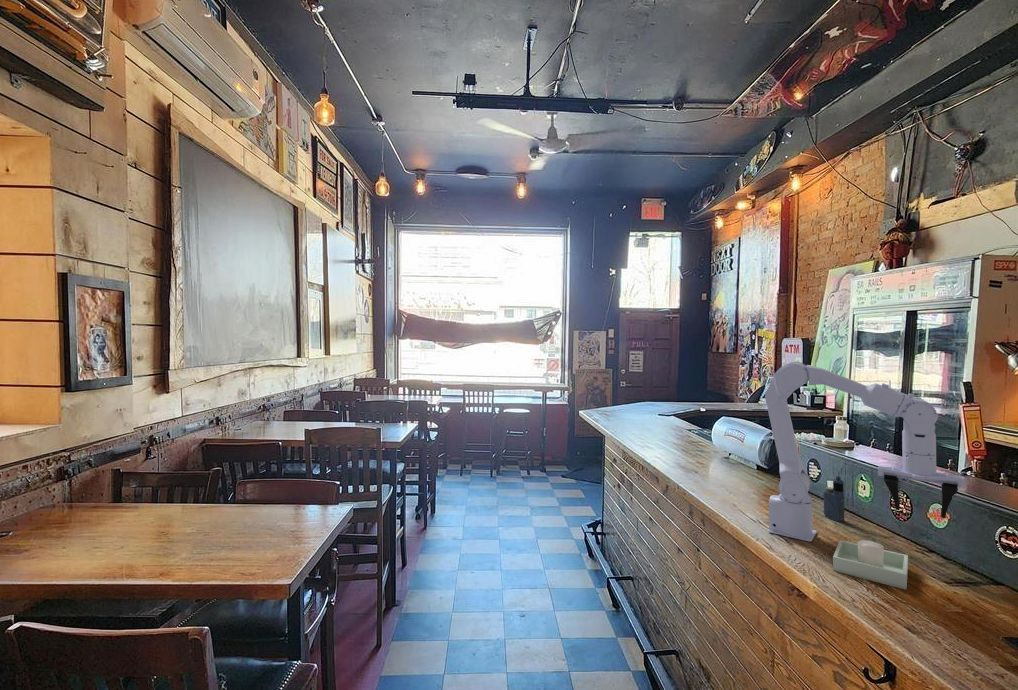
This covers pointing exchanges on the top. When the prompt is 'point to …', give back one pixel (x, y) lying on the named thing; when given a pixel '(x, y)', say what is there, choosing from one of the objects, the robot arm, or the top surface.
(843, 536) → the top surface
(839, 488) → the vaping device
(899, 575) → the bus tub
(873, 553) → the white rounded cylinder
